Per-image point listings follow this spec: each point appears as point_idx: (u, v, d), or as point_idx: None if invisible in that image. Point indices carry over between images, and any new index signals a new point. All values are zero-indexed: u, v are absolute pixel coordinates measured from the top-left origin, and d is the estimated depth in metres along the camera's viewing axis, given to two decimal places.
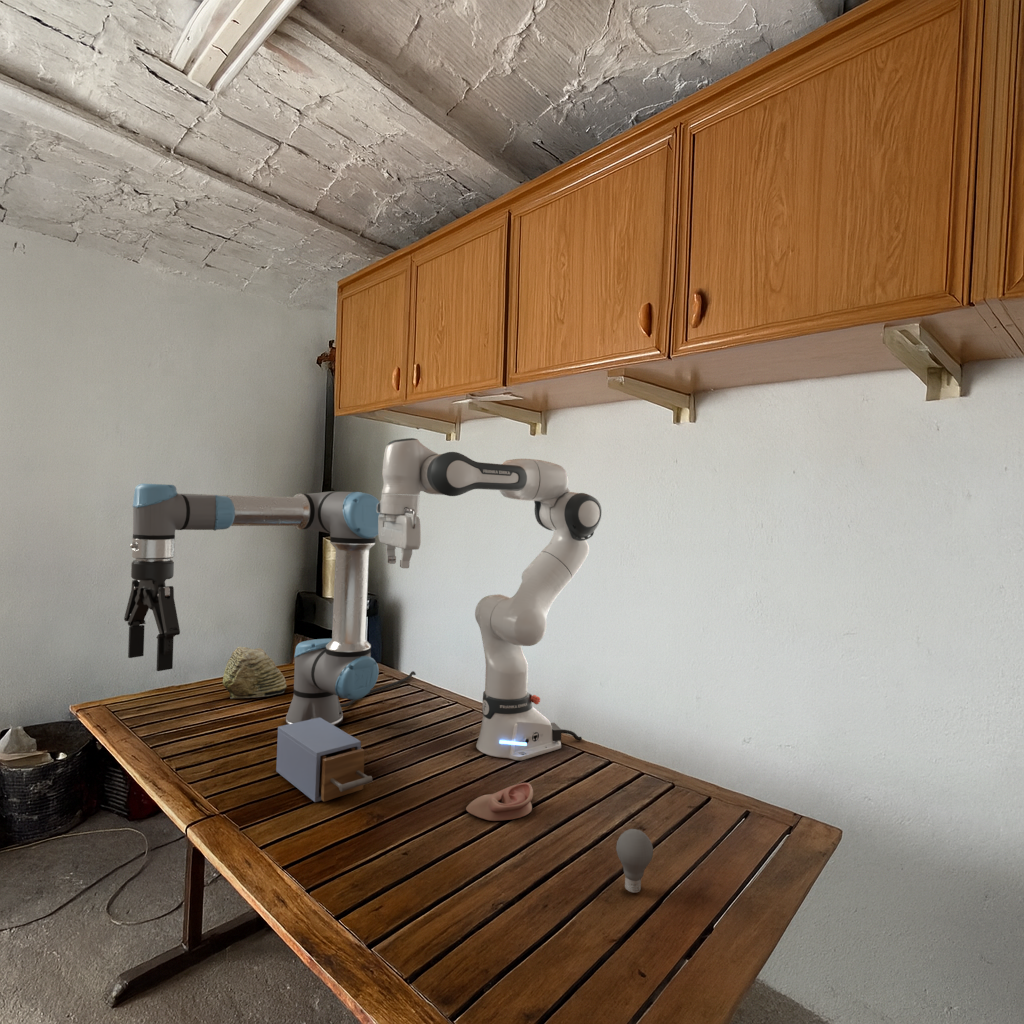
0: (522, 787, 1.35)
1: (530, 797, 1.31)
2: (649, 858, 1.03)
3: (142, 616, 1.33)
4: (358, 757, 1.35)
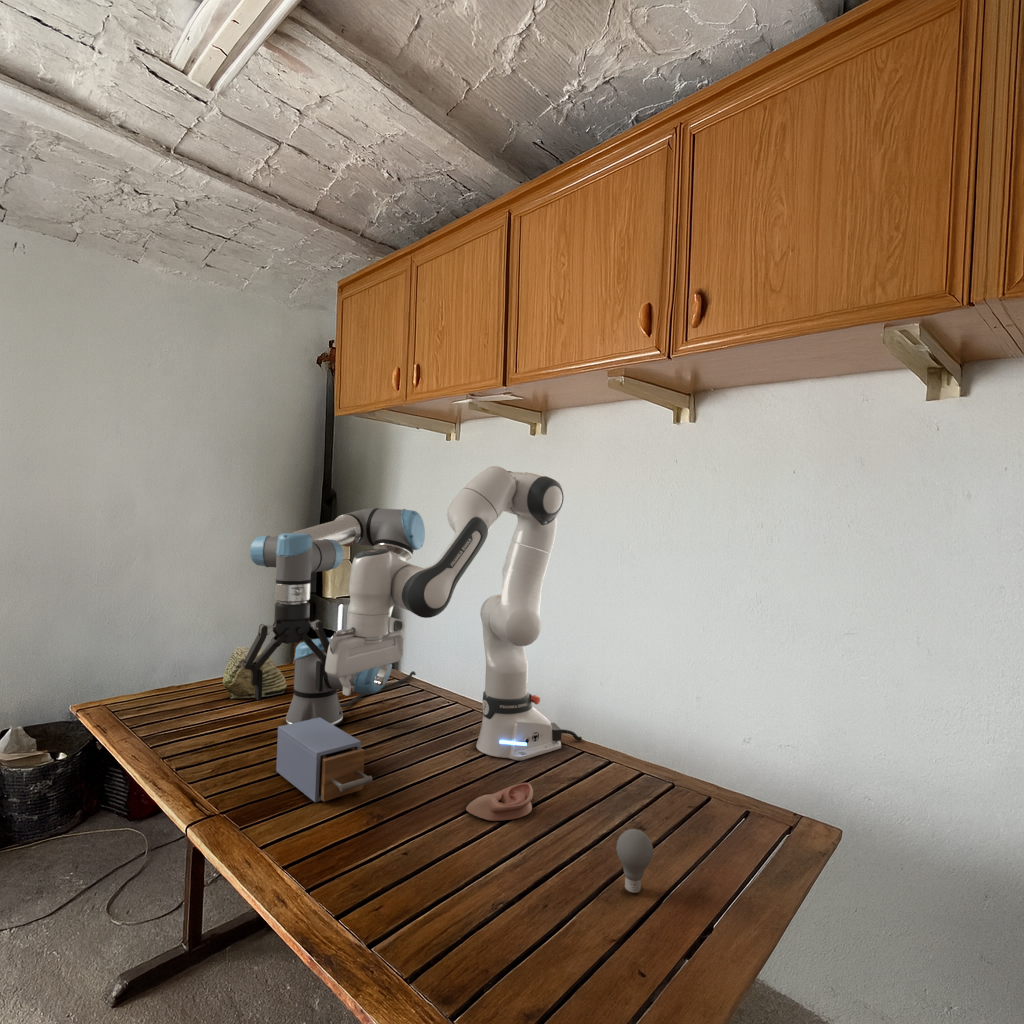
0: (522, 787, 1.35)
1: (530, 797, 1.31)
2: (649, 858, 1.03)
3: None
4: (358, 757, 1.35)
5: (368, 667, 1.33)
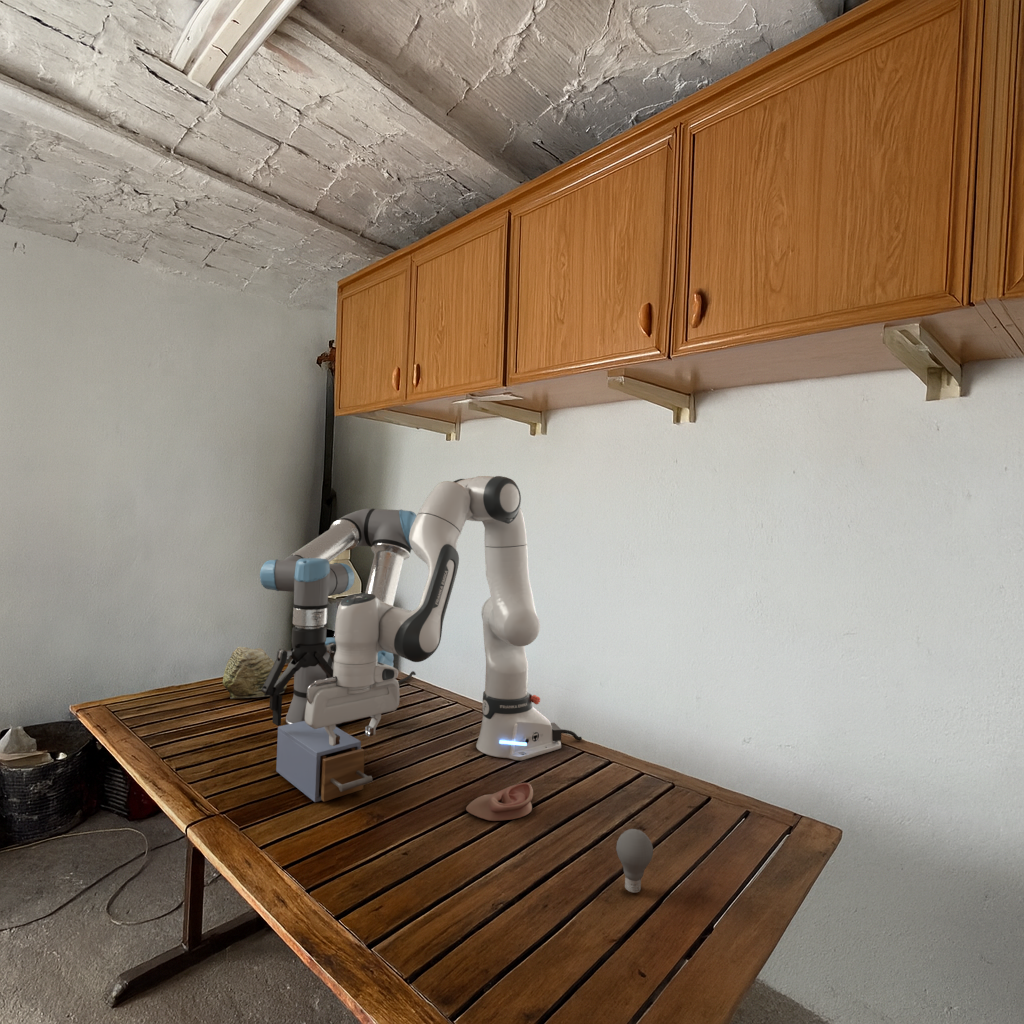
0: (522, 787, 1.35)
1: (530, 797, 1.31)
2: (649, 858, 1.03)
3: None
4: (358, 757, 1.35)
5: (353, 717, 1.29)
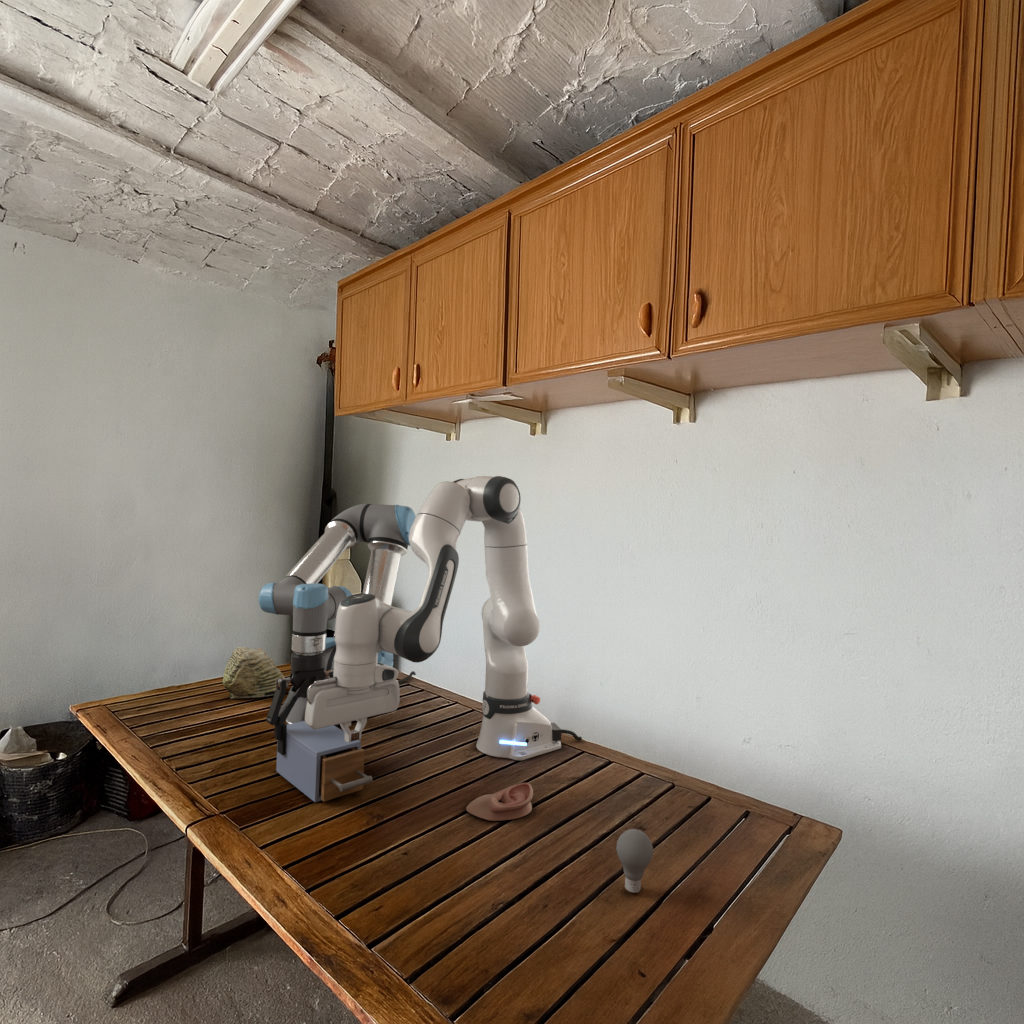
0: (522, 787, 1.35)
1: (530, 797, 1.31)
2: (649, 858, 1.03)
3: None
4: (358, 757, 1.35)
5: (353, 718, 1.29)
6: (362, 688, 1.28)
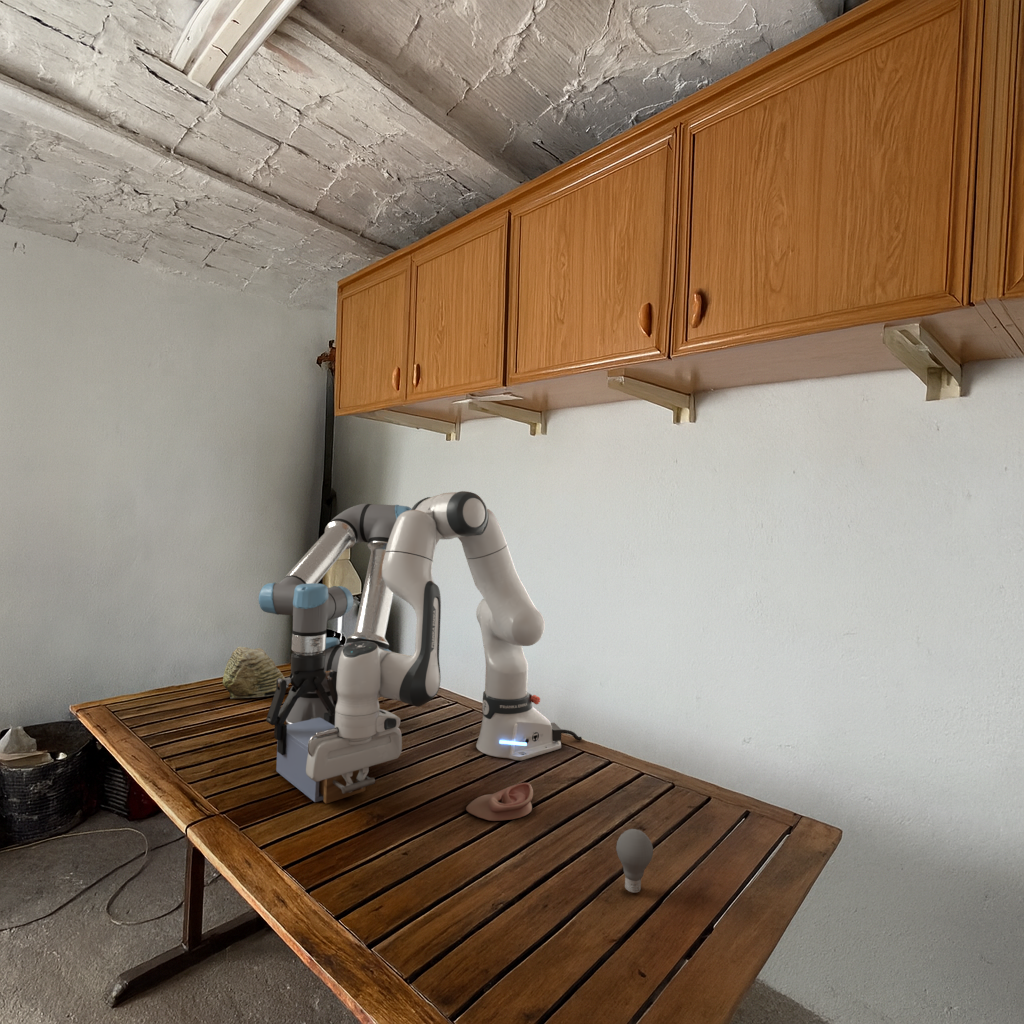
0: (522, 787, 1.35)
1: (530, 797, 1.31)
2: (649, 858, 1.03)
3: None
4: None
5: (355, 768, 1.28)
6: (364, 738, 1.27)
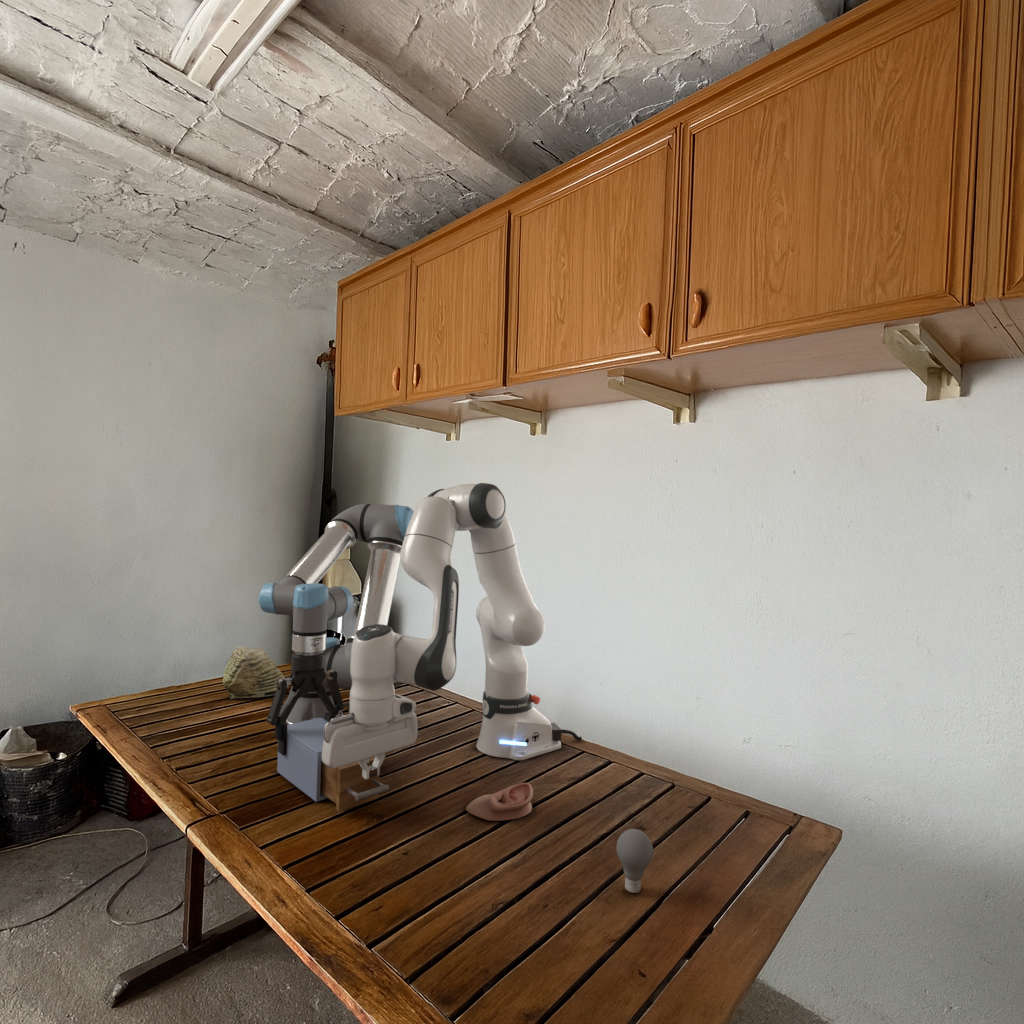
0: (522, 787, 1.35)
1: (530, 797, 1.31)
2: (649, 858, 1.03)
3: None
4: None
5: (371, 754, 1.24)
6: (380, 723, 1.24)
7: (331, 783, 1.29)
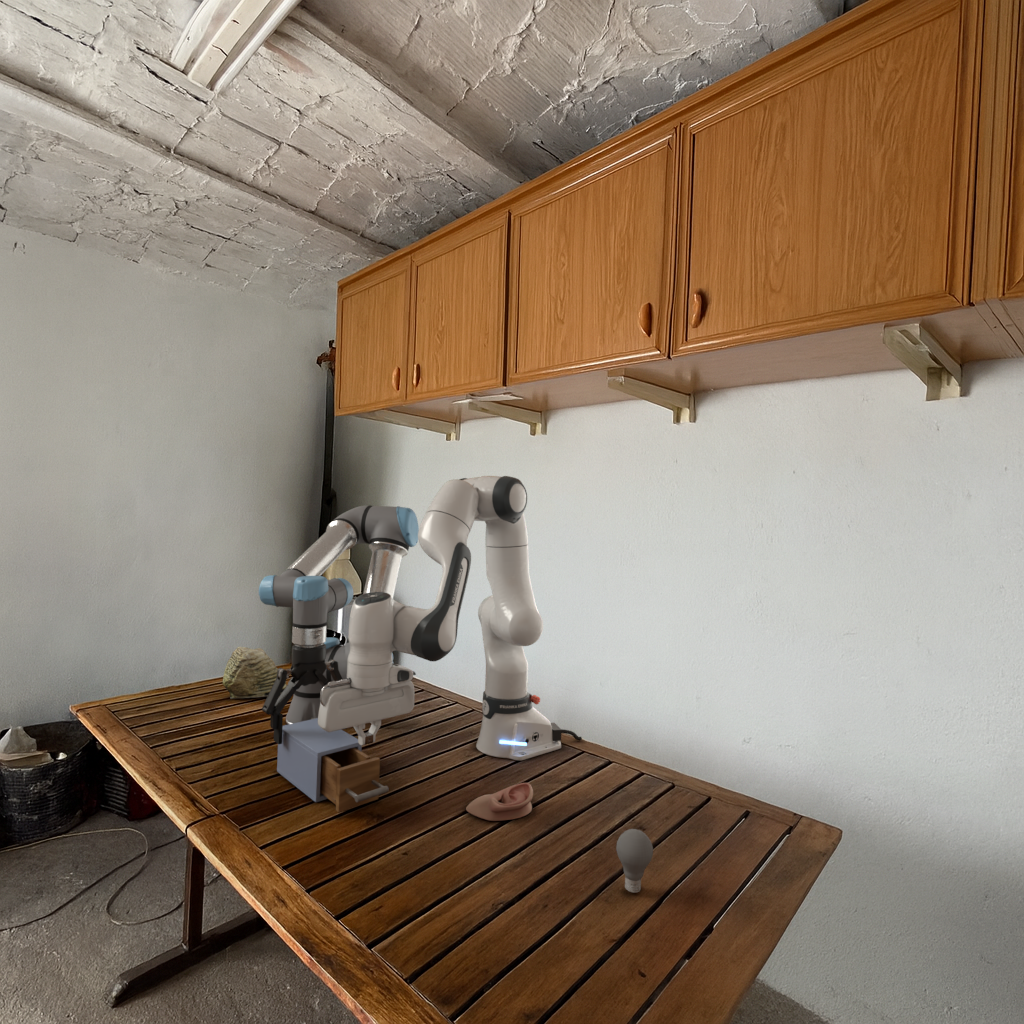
0: (522, 787, 1.35)
1: (530, 797, 1.31)
2: (649, 858, 1.03)
3: None
4: (373, 766, 1.31)
5: (367, 720, 1.25)
6: (377, 689, 1.24)
7: (331, 784, 1.29)
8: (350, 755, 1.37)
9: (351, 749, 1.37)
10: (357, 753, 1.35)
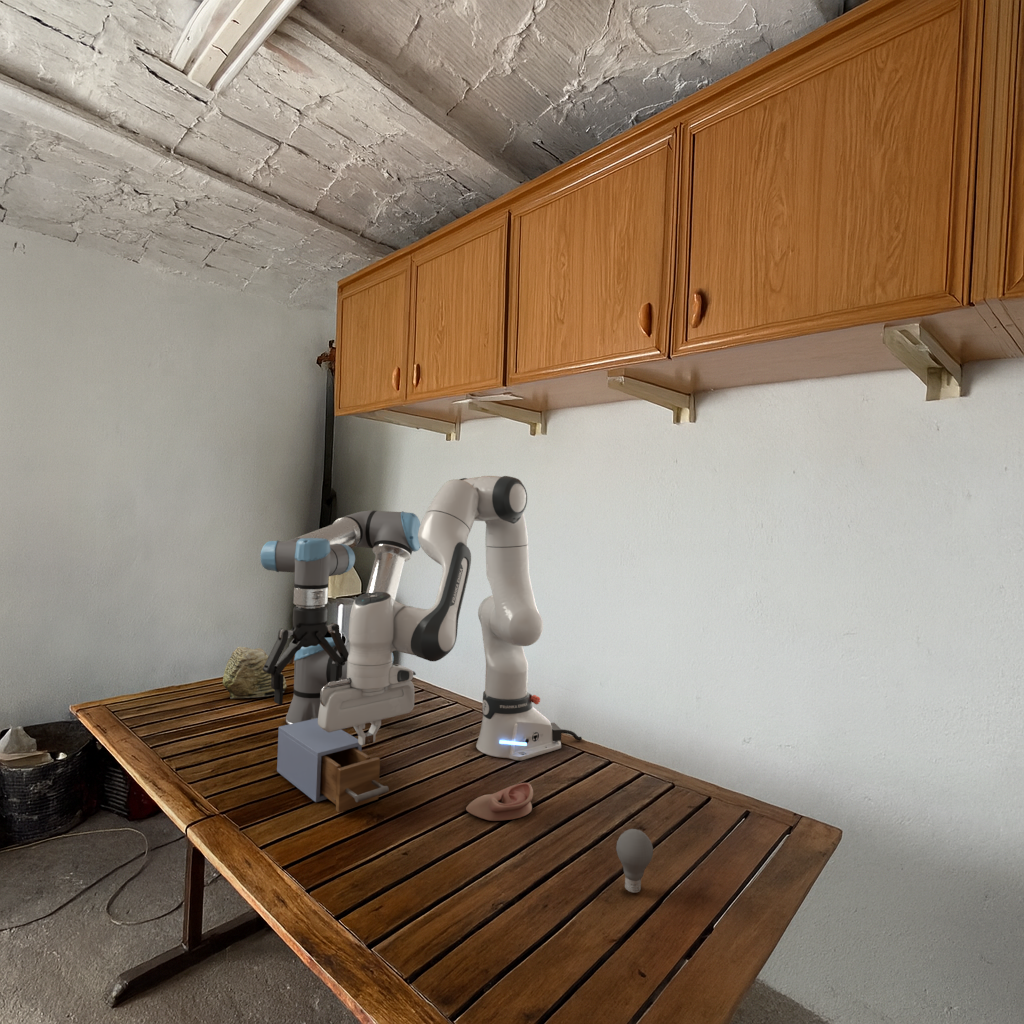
0: (522, 787, 1.35)
1: (530, 797, 1.31)
2: (649, 858, 1.03)
3: None
4: (373, 766, 1.31)
5: (367, 720, 1.25)
6: (377, 689, 1.24)
7: (331, 784, 1.30)
8: (351, 754, 1.37)
9: (351, 749, 1.37)
10: (357, 753, 1.35)
